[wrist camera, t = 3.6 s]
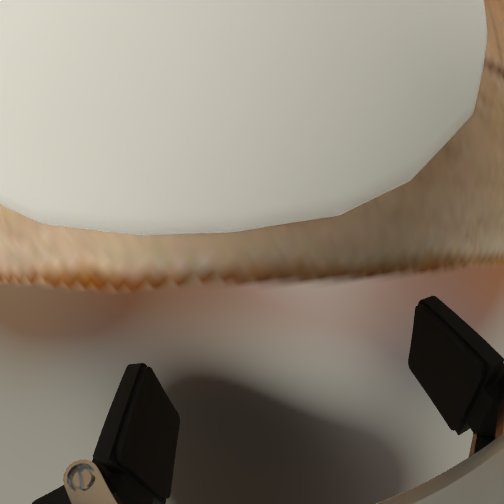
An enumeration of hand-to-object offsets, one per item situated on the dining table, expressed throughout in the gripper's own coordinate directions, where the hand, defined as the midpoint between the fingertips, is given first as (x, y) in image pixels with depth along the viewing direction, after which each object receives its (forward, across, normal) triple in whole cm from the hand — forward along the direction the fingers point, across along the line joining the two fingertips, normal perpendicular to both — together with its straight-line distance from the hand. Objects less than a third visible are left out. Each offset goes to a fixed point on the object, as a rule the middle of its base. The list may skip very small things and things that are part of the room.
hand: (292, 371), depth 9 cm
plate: (+5, 0, -19) cm, 19 cm away
